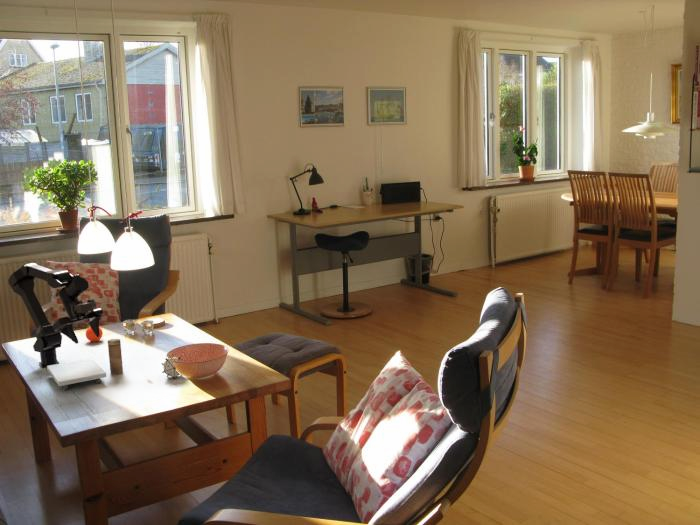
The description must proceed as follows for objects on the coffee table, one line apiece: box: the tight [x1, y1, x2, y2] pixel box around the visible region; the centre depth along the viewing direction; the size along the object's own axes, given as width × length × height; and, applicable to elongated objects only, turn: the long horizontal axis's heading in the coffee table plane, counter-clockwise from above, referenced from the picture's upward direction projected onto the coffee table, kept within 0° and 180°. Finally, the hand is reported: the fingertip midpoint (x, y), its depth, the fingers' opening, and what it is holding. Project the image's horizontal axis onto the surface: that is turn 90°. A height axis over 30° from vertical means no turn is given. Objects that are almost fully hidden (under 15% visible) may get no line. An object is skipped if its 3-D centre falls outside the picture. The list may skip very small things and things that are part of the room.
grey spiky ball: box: [161, 353, 182, 380], centre depth 257 cm, size 9×8×10 cm
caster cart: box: [46, 357, 107, 391], centre depth 258 cm, size 22×16×4 cm
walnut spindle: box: [107, 338, 124, 376], centre depth 264 cm, size 4×4×12 cm
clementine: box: [84, 325, 103, 343], centre depth 308 cm, size 8×7×7 cm
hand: (88, 340), depth 261 cm, fingers open, 9 cm apart
